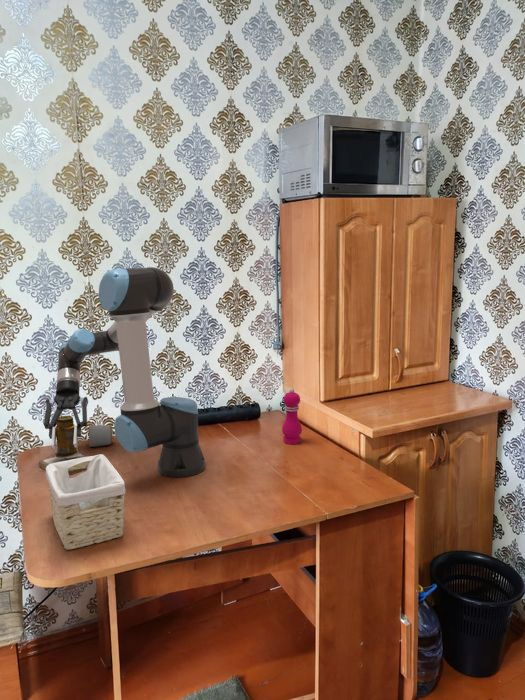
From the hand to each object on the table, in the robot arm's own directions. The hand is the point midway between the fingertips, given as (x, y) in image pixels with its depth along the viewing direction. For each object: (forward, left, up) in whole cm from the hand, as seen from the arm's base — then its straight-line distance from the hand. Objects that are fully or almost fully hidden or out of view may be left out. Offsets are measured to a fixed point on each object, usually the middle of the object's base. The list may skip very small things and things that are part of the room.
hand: (64, 446), depth 181 cm
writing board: (+3, -2, -8) cm, 9 cm away
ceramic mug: (+13, -21, -8) cm, 26 cm away
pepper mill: (-39, -67, -8) cm, 78 cm away
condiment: (+3, -2, -4) cm, 6 cm away
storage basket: (-38, +15, -9) cm, 42 cm away
